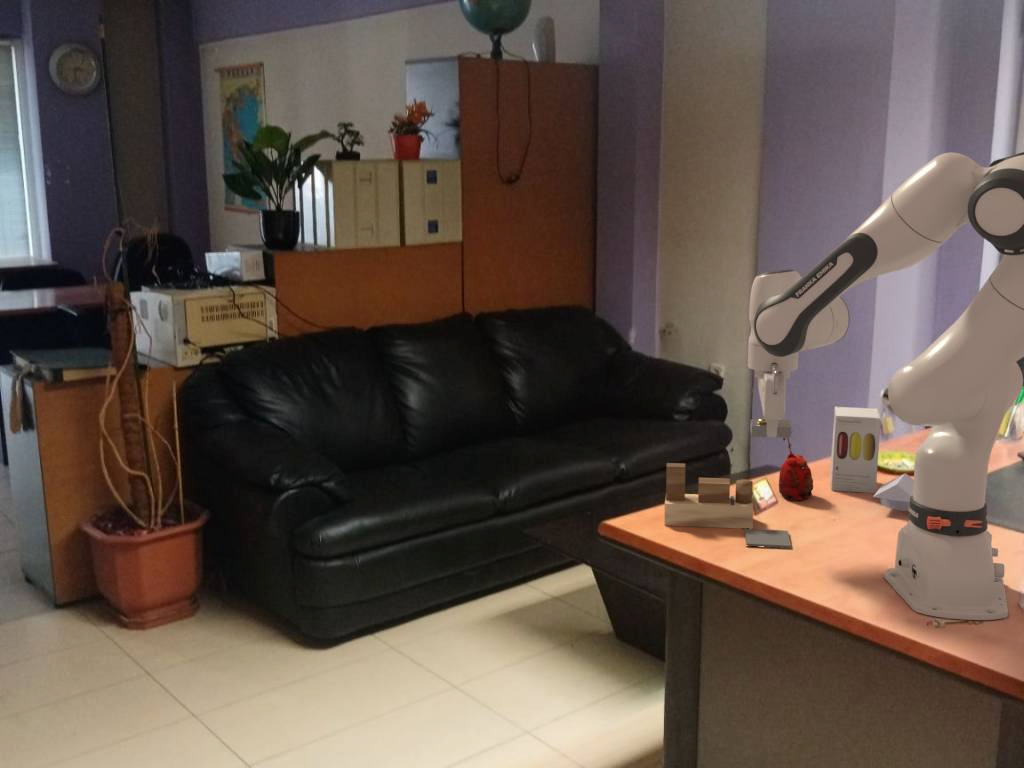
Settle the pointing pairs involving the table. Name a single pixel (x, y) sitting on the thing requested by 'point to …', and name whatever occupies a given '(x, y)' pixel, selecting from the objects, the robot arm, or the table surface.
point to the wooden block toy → (707, 502)
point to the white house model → (896, 493)
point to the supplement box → (855, 449)
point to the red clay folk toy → (795, 477)
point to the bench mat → (767, 538)
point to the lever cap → (760, 428)
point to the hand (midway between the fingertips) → (770, 432)
